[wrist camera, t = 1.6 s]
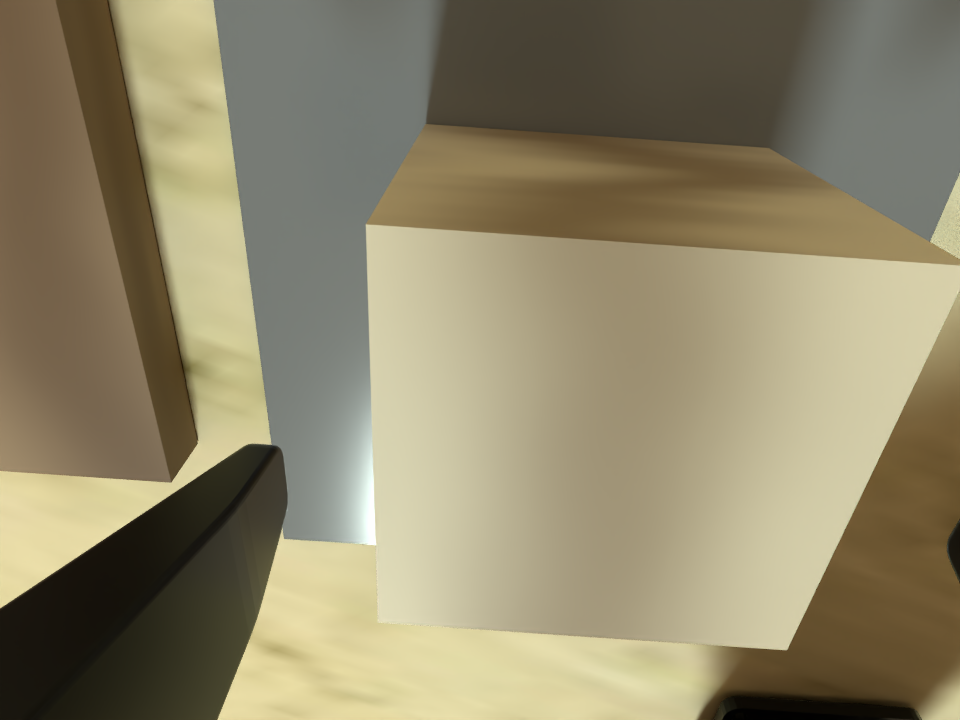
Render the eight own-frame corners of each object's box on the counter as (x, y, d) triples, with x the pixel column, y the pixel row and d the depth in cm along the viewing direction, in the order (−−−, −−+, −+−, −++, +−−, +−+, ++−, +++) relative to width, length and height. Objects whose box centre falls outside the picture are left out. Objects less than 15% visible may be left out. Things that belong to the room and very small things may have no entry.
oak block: (768, 147, 12) (972, 266, 7) (690, 426, 15) (786, 649, 10) (425, 124, 12) (365, 224, 7) (420, 408, 15) (377, 622, 10)
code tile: (1092, -155, 10) (1105, -158, 10) (782, 567, 18) (785, 573, 18) (189, -220, 10) (183, -224, 10) (286, 533, 18) (283, 540, 18)
